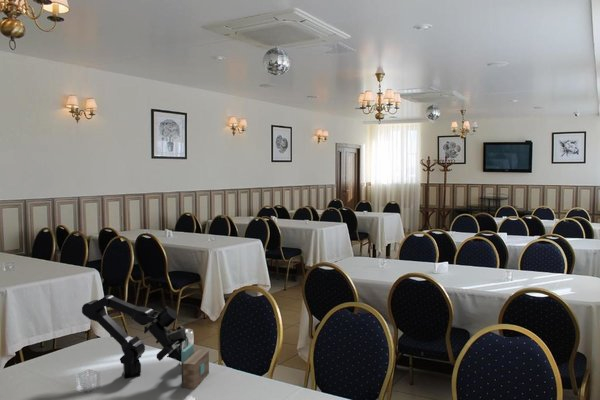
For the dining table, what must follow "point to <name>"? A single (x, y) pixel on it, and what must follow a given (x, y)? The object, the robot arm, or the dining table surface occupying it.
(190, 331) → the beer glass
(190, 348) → the teal fan slab
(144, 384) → the dining table surface
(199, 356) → the block
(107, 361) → the dining table surface
